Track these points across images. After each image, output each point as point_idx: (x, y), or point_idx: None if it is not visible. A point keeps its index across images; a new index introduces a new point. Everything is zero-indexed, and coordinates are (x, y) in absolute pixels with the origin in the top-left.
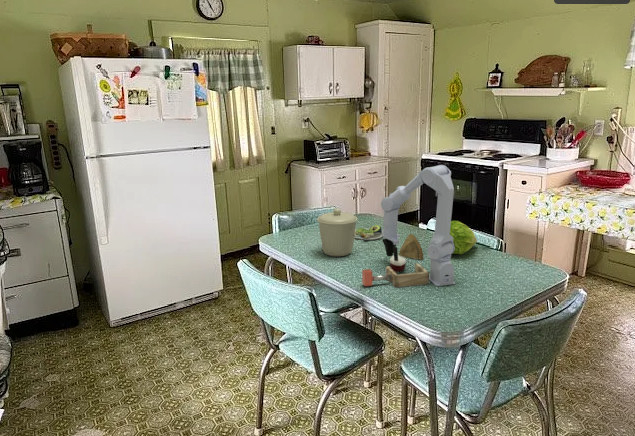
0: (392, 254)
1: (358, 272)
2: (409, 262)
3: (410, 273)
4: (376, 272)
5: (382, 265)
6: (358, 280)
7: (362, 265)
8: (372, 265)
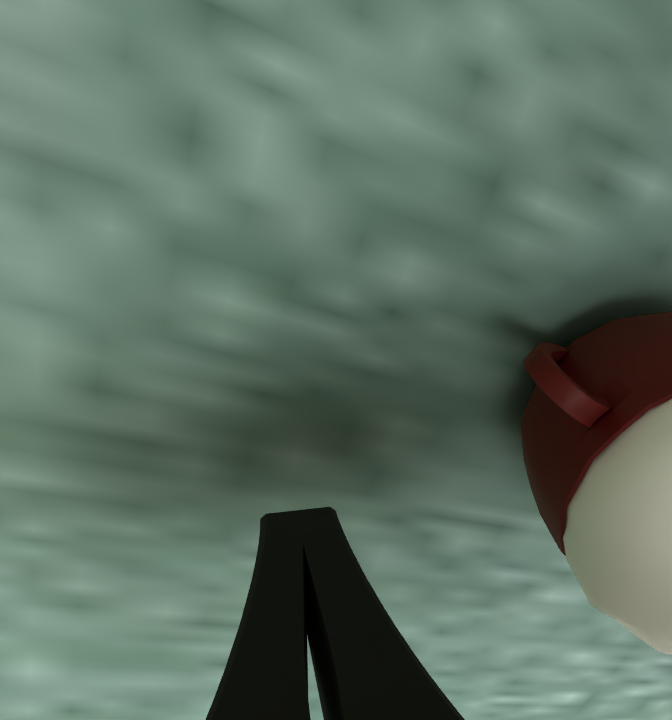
0: (344, 540)
1: None
2: (295, 9)
3: None
4: (522, 600)
5: None
6: (616, 716)
7: None
8: None
